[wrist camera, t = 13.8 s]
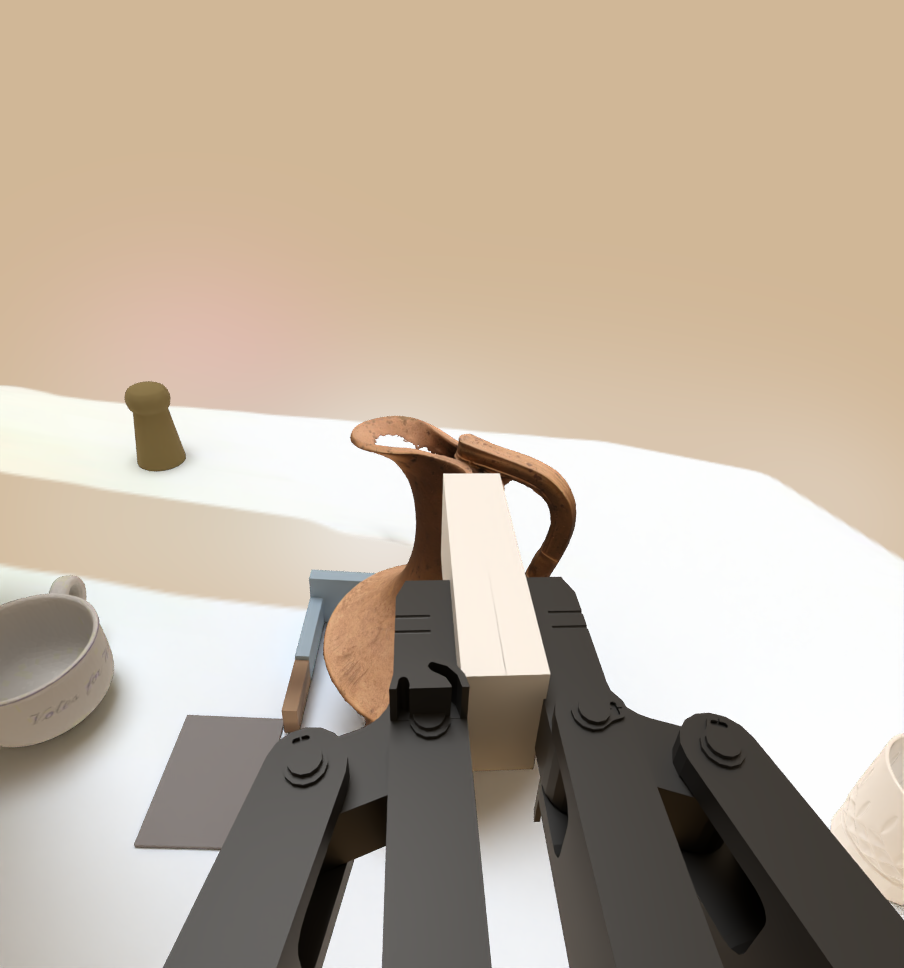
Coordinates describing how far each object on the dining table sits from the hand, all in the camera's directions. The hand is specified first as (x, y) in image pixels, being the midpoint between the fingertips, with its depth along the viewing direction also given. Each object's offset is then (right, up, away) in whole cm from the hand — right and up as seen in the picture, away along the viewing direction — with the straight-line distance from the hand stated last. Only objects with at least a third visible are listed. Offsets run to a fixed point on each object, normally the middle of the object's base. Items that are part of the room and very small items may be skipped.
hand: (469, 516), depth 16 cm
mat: (-19, -22, +28) cm, 40 cm away
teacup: (-34, -17, +34) cm, 51 cm away
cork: (-40, +4, +63) cm, 75 cm away
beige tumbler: (+32, -28, +28) cm, 51 cm away
